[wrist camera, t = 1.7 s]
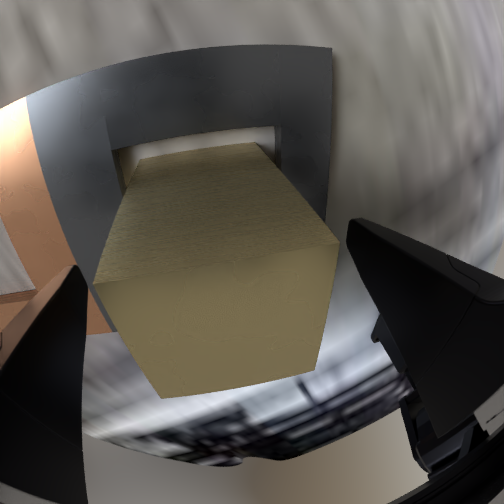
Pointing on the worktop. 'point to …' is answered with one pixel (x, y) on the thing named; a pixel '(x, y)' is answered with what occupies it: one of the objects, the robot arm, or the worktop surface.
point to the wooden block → (217, 271)
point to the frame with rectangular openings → (141, 131)
